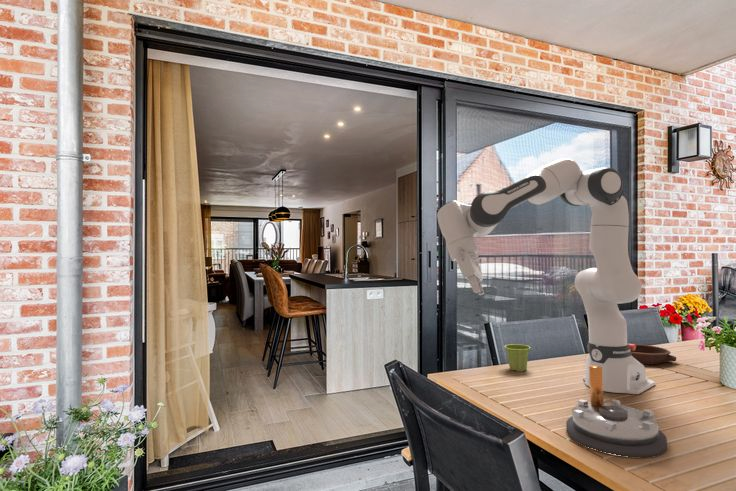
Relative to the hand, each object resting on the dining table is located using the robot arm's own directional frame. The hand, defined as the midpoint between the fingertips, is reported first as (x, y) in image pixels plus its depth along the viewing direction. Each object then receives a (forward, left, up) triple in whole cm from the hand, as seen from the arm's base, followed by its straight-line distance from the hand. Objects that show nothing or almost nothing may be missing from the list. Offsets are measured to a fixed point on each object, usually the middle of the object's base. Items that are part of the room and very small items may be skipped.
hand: (479, 293), depth 126 cm
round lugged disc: (-13, +32, -31) cm, 47 cm away
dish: (-87, -5, -34) cm, 93 cm away
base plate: (-13, +32, -33) cm, 48 cm away
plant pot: (-37, -22, -34) cm, 54 cm away
